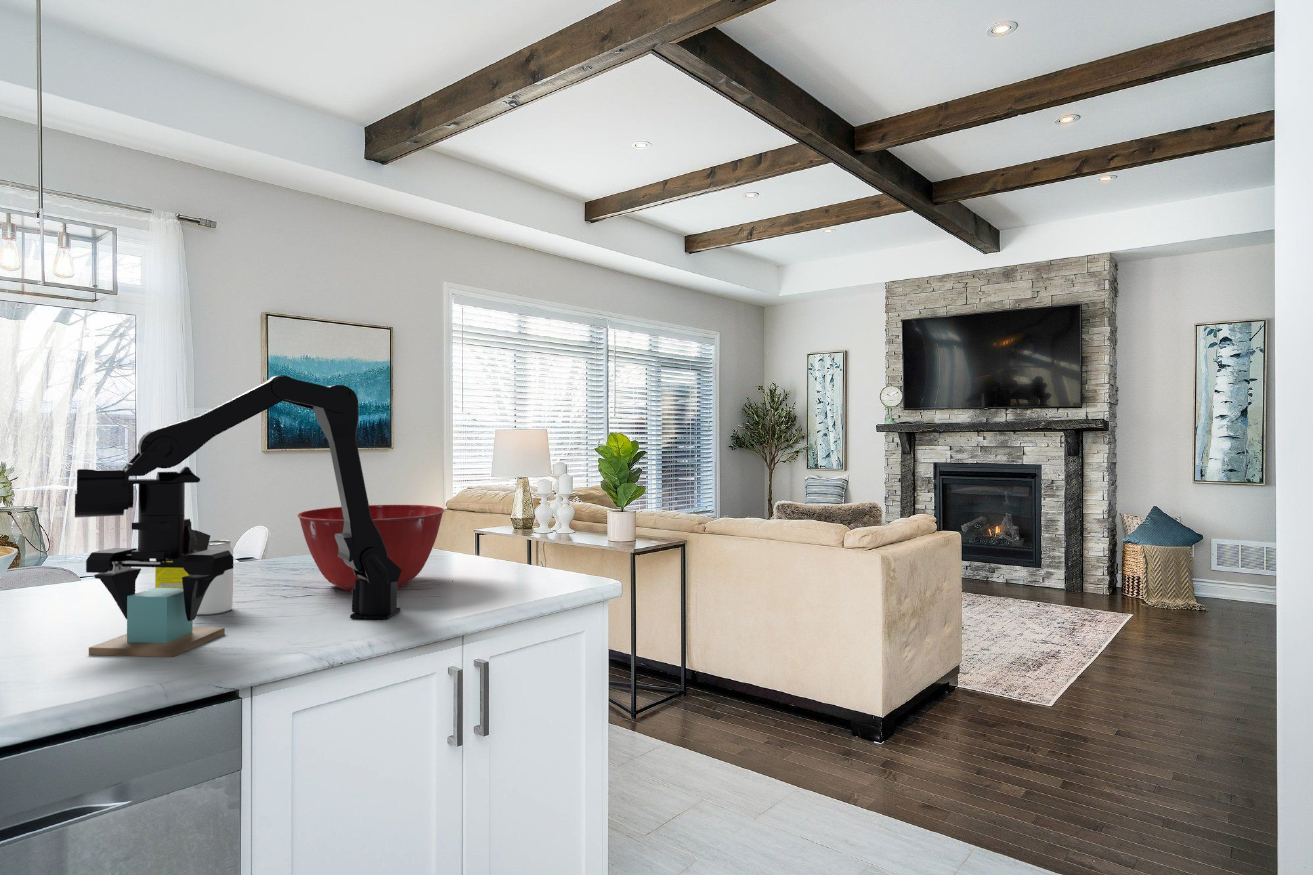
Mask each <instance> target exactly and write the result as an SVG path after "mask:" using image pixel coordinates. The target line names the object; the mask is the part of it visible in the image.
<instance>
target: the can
mask: <svg viewBox="0 0 1313 875" xmlns="http://www.w3.org/2000/svg"><path fill="white" fill-rule="evenodd" d="M231 542H232V541H231V540H227V539H216V540H215V539H212V540H211V539H210V540H209V545H208V549H207V550H229V552H230V553H231V555H232V556H233V557H234V549H233V547H232V545H231ZM233 598H234V567H233V568H232V569H229V570H226V571H225V572H224V574H223V575H220V576H216V578H215V579H214V580H213V581H212V582H211V583H210V585H209V587H208V589H207V591H206V593H205V595H204V597H203V600H202V602H201V605H200V607H199V610H198V612H197V615H196V616H214V615H220V614H224V613H228V612H229V611H231V609H233V608H234V607H233V605H234V604H233V600H234V599H233Z"/></svg>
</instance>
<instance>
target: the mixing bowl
mask: <svg viewBox="0 0 1313 875" xmlns="http://www.w3.org/2000/svg"><path fill="white" fill-rule="evenodd" d="M369 508H370V513H371V518H372V520H373V522H374V524H375V526H376V527H377V529H378V531H379V533H380V534H381V537H382V539H383V542H384V544H385V547H386V549H387V553H388V558H389V559H390V560H391V561H392V562H394V563H395V564H396V565H397V566H398V567H399V568H400V569H401V570H402V571H401V574H400V577H399V579H398V581H397V589H398V588H401V587H403V586H406V585H407V584H408V583H409V582H410V581H412V580H413V579H415V578H416V577H417V576H419V574H420V573H421V571H422V570H423V568H424V566H425V565H426V563H427V561H428V559H429V557H430V555H431V552H432V550H433V548H434V545H435V542H436V539H437V537H438V534H439V529H440V526H441V522H442V517H443V514H444V512H445V508H444V507H441V506H435V505H425V504H369ZM296 515H297V518H299V521H300V522H299V523H300V526H301V530H302V533H303V537H304V539H305V543H306V545H307V547H308V550H309V552H310V556H311V557H312V559H313V560H314V561H313V562H314V563H315V565H316V567H317V568H318V570H319V572H320V573H321V575H322V576H323V577H324V578H325V580H327V582H329V583H331V584H332V585H333V586H336V587H338V589H339V590H342V591H348V592H352V589H353V588H355V580H357V579H359V577H356V576H355V574H354V571H353V569H352V568H351V567H349V566H347V565H346V564H345V562H344V560H343V559H342V558H340V557H338V552H339V548H338V544H337V542H336V539H335V534H340V533H343V528H344V517H343V512H342V507H341V506H335V507H325V508H318V509H317V508H315V509H309V510H304V511H301V512H299V513H298V514H296Z"/></svg>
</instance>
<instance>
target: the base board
mask: <svg viewBox="0 0 1313 875" xmlns="http://www.w3.org/2000/svg"><path fill="white" fill-rule="evenodd" d="M225 628H226V627H219V626H218V627H215V626H214V627H213V626H211V627H210V626H207V627H206V626H192V633H190V634H187V635H185V636H182V637H180V638H177V639H175V640H173V641H170V642H168V643H146V642H127V633H126V634H123V635H120V636H117V637H114V638H112V639H108V640H107V641H106V640H105V641H103V642H100V643H97V644H95V645H92V646H90V647H88V656H119V657H120V656H124V657H125V656H126V657H130V656H131V657H156V658H157V657H161V658H162V657H164V658H165V657H166V658H173V657H175V656H178V655H180V654H183V653H184V652H187V651H190V650H191V649H194V648H197V647H199V646H201V645H204V644H205V643H208V642H210V641H212V640H215V639H217V638H219V637H221V636H223V635H225V634H226V629H225Z"/></svg>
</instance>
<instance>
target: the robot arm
mask: <svg viewBox="0 0 1313 875" xmlns="http://www.w3.org/2000/svg"><path fill="white" fill-rule="evenodd" d="M282 402H285V403H288V404H290V405H291V404H292V405H295V406H299V407H301V408H305V409H308V410H313V414H314V415H315V418H316V420H317V423H318V425H319V427H320V429H321V431H322V432H323V434H324V436H325V437H326V439H327V442H328V446H329V450H330V456H331V462H332V465H333V466H332V467H333V471H334V476H335V481H336V486H337V491H338V497H339V500H340V507H342V512H343V517H344V528H343V533H340V534H335V539H336V542H337V544H338V548H339V552H338V557H340V558H342V559H343V560H344V562H345V564H346V565H347V566H349V567H351V568H352V569H353V571H354V574H355V576H356V577H359V579H357V580H355V588H353V589H352V591H351V612H352V613H351V614H350V615H349V618H350V619H365V620H367V619H371V620H373V619H374V620H386V619H387V620H388V619H389V618H391V617H393V616H395V615H396V614H398V613H399V612H401V611H402V610H401V607H398V588H397V581H398V579H399V577H400V574H401V571H402V570H401V569H400V568H399V567H398V566H397V565H396V564H395V563H394V562H392V561H391V560H390V559H389V558H388V553H387V549H386V547H385V544H384V542H383V539H382V537H381V534H380V533H379V531H378V529H377V527H376V526H375V524H374V522H373V520H372V518H371V513H370V508H369V505H370V504H369V503H370V502H369V499H368V493H367V488H366V483H365V478H364V477H365V476H364V473H363V467H362V462H361V458H360V457H361V456H360V452H359V447H358V442H357V430H358V425H359V398H358V395H357V393H356V392H355V390H353V389H352V388H350V387H349V386H346V385H344V384H333V385H328V386H326V385H322V384H318V383H313V382H309V381H304V380H302V379H301V380H300V379H297V378H292V377H290V376H289V375H286V374H285V375H283V374H279V375H276V376H271V377H270V378H269V379H268V380H267V381H266V382H265V381H264V382H263V383H262V384H259V385H258V386H256V387H253V388H251V389H250V390H247V391H245V392H243V393H241V394H240V395H238V396H235V397H233V398H231V399H229V400H228V401H225V402H223V403H221V404H219V405H218V406H215V407H214V408H211V409H209V410H207V411H205V412H203V413H201V414H199V415H196V416H195V417H190V418H188V419H184V420H181V421H178V422H177V421H176V422H174V423H171V424H167V425H163V426H161V427H158V428H154V429H152V430H149V431H148V432H146V433H144V434H143V435H142V436H141V437H140V439H139V442H138V445H137V453H136V454H135V455H134V456H133V457H132V458H131V460H130V461H129V462H125V463H126V464H125V466H124V467H123V468H122V469H93V468H78V469H77V470H76V490H74V518H77V519H78V518H95V517H97V518H98V517H116V516H117V517H120V516H121V517H123V516H124V514H125V510H129V509H133V507H134V497H135V496H134V494H135V493H134V485H138V506H137V507H138V508H137V510H138V511H137V512H138V513H137V515H138V516H137V518H138V519H137V520H138V521H135V522H133V521H132V522H131V530H132V531H133V530H135V531H137V548H136V547H135V548H134V547H133V548H132V547H130V548H129V547H128V548H127V547H112V548H107V549H101V550H98V551H93V552H91V553H90V554H89V555H88V557H87V559H85V572H86V573H87V574H88V573H93V574H94V573H95V574H94V576H93V577H94V579H96V580H97V579H99V580H100V581H101V583H102V584H103V585H104V586H105V588H106V590H107V591H108V592H109V593H110V595H111V597H112V598H113V599H114V602H115V603H116V605H117V606H118V608H119V610H120V612H121V613H122V615H123V617H124V618H125V620H127V596H130V595H133V594H136V581H137V578H138V576H139V574H140V572H141V570H142V568H155V567H163V568H184V570H185V571H186V572H187V573H188V574H189V575H188V576H185V577H182V583H183V593H184V603H185V612H186V616H187V620H188V621H192V620H193V621H194V620H195V619H196V617H197V616H198V615H197V612H198V610H199V607H200V605H201V602H202V600H203V597H204V595H205V593H206V591H207V589H208V587H209V585H210V583H211V582H212V581H213V580H214V579H215V578H216V576H220V575H223V574H224V572H225V571H226V570H229V569H232V568H233V569H234V558H235V557H234V555H233V556H232V555H231V553H230V552H229V550H207V549H208V545H209V540H211V535H210V534H208V533H205V532H203V531H200V530H197V529H192V521H191V519H190V518H186V516H185V513H186V512H185V507H186V506H185V502H186V501H185V500H186V499H185V498H186V495H185V494H186V492H185V490H186V487H185V485H186V484H187V483H188V484H190V483H191V484H192V483H195V484H196V483H200V481H201V478H200V477H199V476H197V475H195V473H194V472H192V470H191V468H190V466H187V465H185V466H184V467H183V468H182V469H181V470H179V471H157V473H156V478H139V479H137V478H135V479H134V478H133V479H132V478H130V477H143V476H146V475H148V474H150V473H151V472H153V471H155V470H156V469H171V468H173V467H176V466H178V465H180V464H181V463H182V462H183V461H185V460H187V458H189V457H190V456H193V454H195V453H196V452H197V451H198V450H200V449H201V447H203V446H204V445H206V444H207V443H208V442H210V440H212V439H213V438H214V437H216V436H218V435H220V434H221V433H224V432H226V431H227V430H229V429H231V428H233V427H235V426H237V425H239V424H241V423H243V422H245V421H247V420H249V419H251V418H252V417H254V416H257V415H258V414H260V413H262V412H264V411H266V410H269V409H270V408H272V407H274V406H276V405H277V404H280V403H282ZM151 559H152V560H151ZM154 559H155V560H154ZM166 561H173V562H166Z"/></svg>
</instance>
